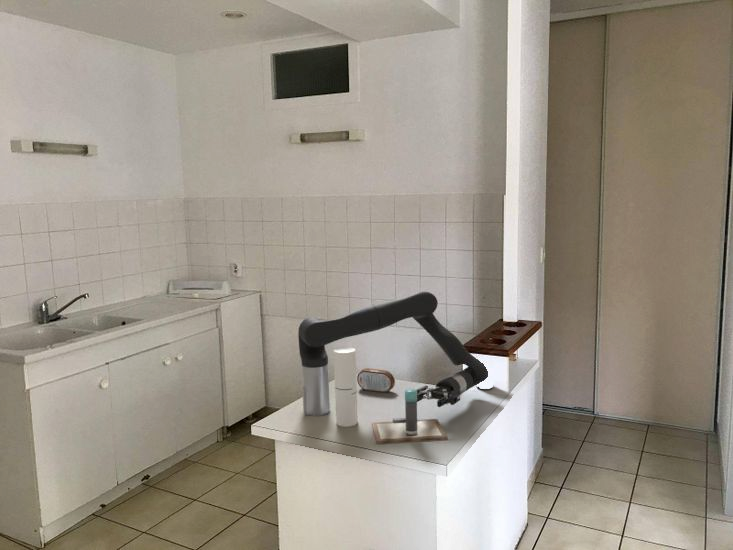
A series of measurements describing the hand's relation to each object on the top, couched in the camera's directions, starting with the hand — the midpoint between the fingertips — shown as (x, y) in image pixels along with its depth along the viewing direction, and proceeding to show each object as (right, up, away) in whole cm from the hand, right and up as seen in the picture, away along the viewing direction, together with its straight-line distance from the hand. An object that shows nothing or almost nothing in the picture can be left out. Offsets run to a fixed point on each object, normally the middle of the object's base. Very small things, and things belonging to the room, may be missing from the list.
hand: (426, 401), depth 196 cm
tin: (-16, -4, +38) cm, 42 cm away
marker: (-5, -9, -6) cm, 12 cm away
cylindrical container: (-26, -9, +7) cm, 28 cm away
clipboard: (-6, -9, -2) cm, 11 cm away
